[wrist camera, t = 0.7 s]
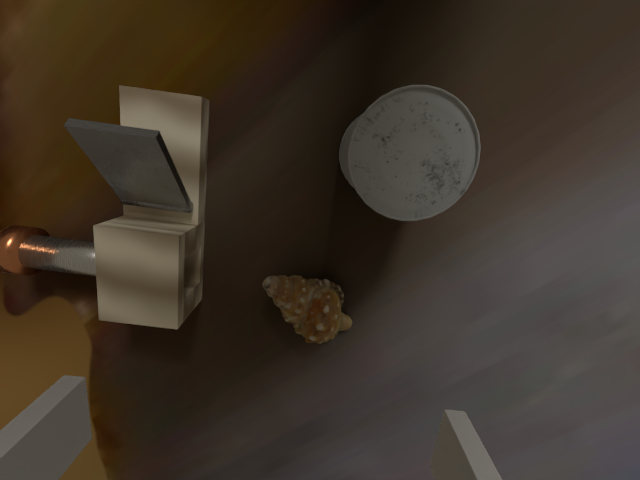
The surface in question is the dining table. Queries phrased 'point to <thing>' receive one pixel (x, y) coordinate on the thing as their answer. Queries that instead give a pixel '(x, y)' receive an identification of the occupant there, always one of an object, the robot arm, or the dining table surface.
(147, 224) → the block
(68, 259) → the pin
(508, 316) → the dining table surface
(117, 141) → the latch flap
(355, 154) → the grey stone cylinder
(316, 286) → the seashell
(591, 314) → the dining table surface
